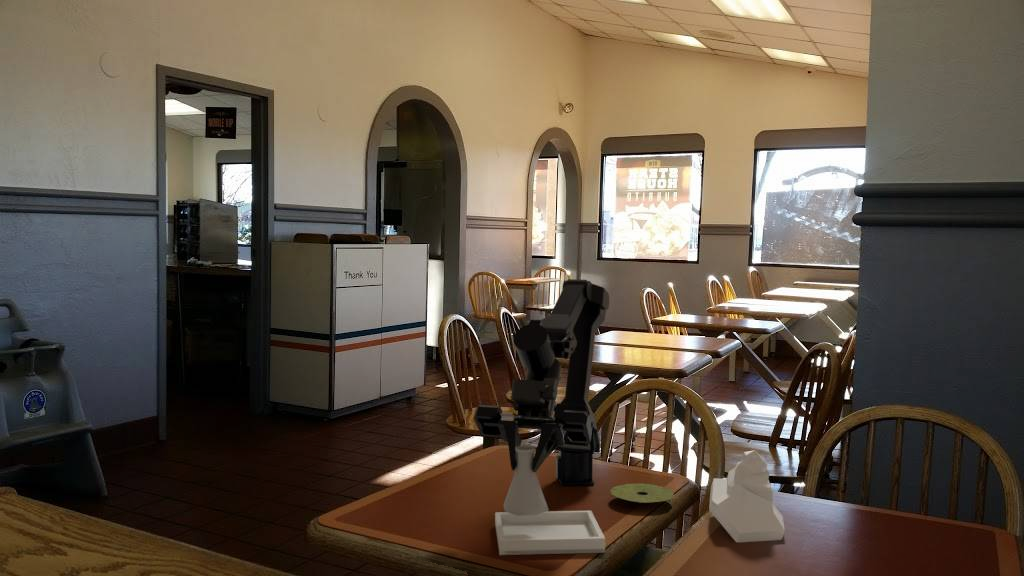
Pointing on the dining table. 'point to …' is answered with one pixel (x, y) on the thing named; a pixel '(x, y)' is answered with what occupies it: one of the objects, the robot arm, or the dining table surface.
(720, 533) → the dining table surface
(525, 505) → the flask
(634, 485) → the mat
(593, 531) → the tray
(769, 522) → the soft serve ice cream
